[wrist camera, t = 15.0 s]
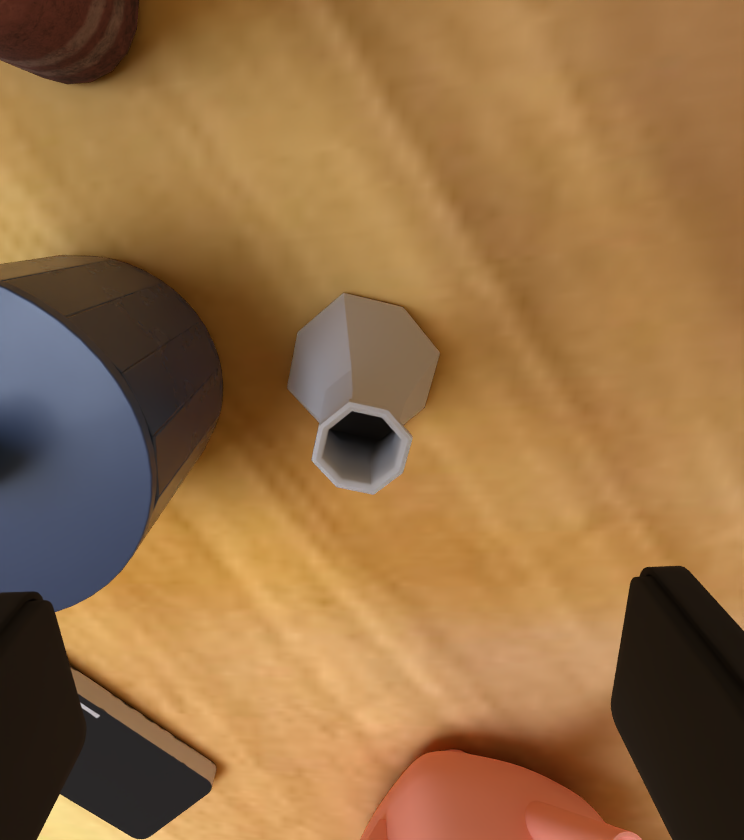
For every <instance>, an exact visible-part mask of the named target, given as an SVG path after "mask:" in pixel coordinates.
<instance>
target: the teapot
mask: <svg viewBox="0 0 744 840" xmlns="http://www.w3.org/2000/svg"><path fill="white" fill-rule="evenodd" d="M360 840H642V839H641V838H640V837H639V836H638V835H636V834H635V833H633V832H630V831H627V830H624V829H621V828H618V827H615V826H612V825H609V824H606V823H605V822H604V820H603V819H602V818H601V817H600V816H599V815H598V813H597V812H596V811H595V810H594V809H593V808H592V807H591V806H590V805H589V804H588V803H587V802H586V801H585V800H583V799H582V798H581V797H580V796H578V795H577V794H575V793H574V792H572V791H571V790H569V789H567V788H566V787H564V786H562V785H560V784H558V783H557V782H555V781H553V780H551V779H549V778H547V777H545V776H543V775H541V774H538V773H536V772H534V771H531V770H529V769H526V768H524V767H521V766H518V765H515V764H511V763H508V762H504V761H500V760H496V759H491V758H487V757H482V756H477V755H472V754H467V753H465V752H463V751H460V750H455V749H451V750H445V751H435V752H429V753H427V754H424V755H422V756H420V757H419V758H418V759H416V760H415V761H414V762H413V763H412V764H411V765H410V766H409V767H408V768H407V769H406V770H405V771H404V773H403V774H402V775H401V776H400V778H399V779H398V780H397V781H396V783H395V784H394V785H393V787H392V788H391V789H390V791H389V792H388V793H387V795H386V796H385V797H384V799H383V800H382V802H381V803H380V805H379V807H378V808H377V810H376V811H375V813H374V815H373V816H372V818H371V820H370V821H369V823H368V825H367V827H366V829H365V831H364V833H363V835H362V837H361V839H360Z"/></svg>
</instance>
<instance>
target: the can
mask: <svg viewBox="0 0 744 840" xmlns="http://www.w3.org/2000/svg"><path fill="white" fill-rule="evenodd" d="M138 6H139V0H0V60H1V61H4V62H6V63H9V64H11V65H13V66H16V67H18V68H21V69H23V70H25V71H28V72H30V73H33V74H35V75H38V76H40V77H42V78H46V79H50V80H53V81H57V82H61V83H65V84H74V83H85V82H92V81H94V80H96V79H98V78H100V77H102V76H103V75H105V74H107V73H109V72H111V71H112V70H113V69H114V68H115V67H116V66H117V64H118V63H119V62H120V61H121V60H122V59H123V58H124V56H125V55H126V54H127V53H128V50H129V47H130V45H131V42H132V40H133V37H134V35H135V32H136V30H137V19H138Z"/></svg>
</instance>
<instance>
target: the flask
mask: <svg viewBox="0 0 744 840" xmlns="http://www.w3.org/2000/svg"><path fill="white" fill-rule="evenodd" d="M439 355H440V352H439V351H438V350H437V348H436V347H435V346H434V345H433V343H432V342H431V341H430V340H429V338H428V337H427V336H426V335H425V333H424V332H423V331H422V330H421V329H420V327H419V326H418V325H417V324H416V322H415V321H414V320H413V319H412V317H411V316H410V315H409V314H408V312H407V311H406V310H405V309H404V307H401V306H397V305H393V304H389V303H384V302H380V301H376V300H372V299H368V298H363V297H359V296H355V295H351V294H347V293H343V294H341V295H340V296H339V297H338V298H337V299H336V300H334V301H333V302H332V303H331V304H330V305H329V306H327V307H326V308H325V309H324V310H323V311H322V312H320V313H319V314H318V315H317V316H316V317H315V318H313V319H312V320H311V321H310V322H309V323H308V324H306V325H305V326H304V327H303V328H302V329H301V330H299V331H298V333H297V338H296V344H295V349H294V354H293V359H292V364H291V369H290V375H289V380H288V385H287V389H288V390H289V391H290V392H291V393H292V394H293V395H294V396H295V397H296V399H297V400H298V401H299V402H300V403H301V404H302V405H303V406H304V407H305V408H306V409H307V410H308V411H309V413H310V414H311V415H312V416H313V417H314V418H315V419H316V420H317V421H318V422H319V427H318V432H317V436H316V441H315V445H314V450H313V455H312V462H313V463H314V464H315V465H316V466H317V467H318V468H319V469H320V470H321V471H322V472H323V473H324V474H325V475H326V476H327V477H328V478H329V480H330V481H331V482H332V483H333V484H334V485H335V486H336V487H339V488H344V489H348V490H353V491H358V492H363V493H368V494H373V495H374V494H375V493H376V492H378V491H379V490H380V489H382V488H383V487H384V486H386V485H387V484H388V483H390V482H391V481H392V480H394V479H395V478H396V477H398V476H399V475H401V474H402V473H403V470H404V467H405V463H406V460H407V456H408V453H409V449H410V445H411V442H412V435H411V434H410V433H409V431H408V430H407V429H406V428H405V427H404V426H403V425H404V424H405V423H406V422H407V421H408V420H410V419H411V418H412V417H414V416H415V415H416V414H417V413H419V412H420V411H421V410H422V409H423V408H425V404H426V401H427V397H428V394H429V390H430V387H431V383H432V380H433V376H434V373H435V369H436V366H437V362H438V359H439Z"/></svg>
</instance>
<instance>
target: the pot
mask: <svg viewBox="0 0 744 840" xmlns="http://www.w3.org/2000/svg"><path fill="white" fill-rule="evenodd" d="M0 281H3V282H5V283H8V284H10V285H13V286H15V287H17V288H19V289H21V290H23V291H25V292H26V293H28V294H30V295H32V296H34V297H36V298H38V299H40V300H41V301H43V302H44V303H46V304H47V305H49V306H50V307H52V308H53V309H55V310H56V311H58V312H59V313H61V314H62V315H64V316H65V317H66V318H68V319H69V320H70V321H71V322H72V323H73V324H75V325H76V326H77V327H78V328H79V329H81V330H82V331H83V332H84V333H85V334H86V335H88V336H89V337H90V339H91V340H92V341H93V342H94V343H95V344H96V345H97V346H98V347H99V348H100V349H101V350H102V351H103V352H104V353H105V354H106V355H107V357H108V358H109V359H110V361H111V362H112V363H113V365H114V366H115V367H116V369H117V370H118V371H119V373H120V374H121V375H122V377H123V378H124V379H125V381H126V383H127V385H128V386H129V388H130V390H131V392H132V393H133V395H134V397H135V398H136V400H137V402H138V404H139V407H140V409H141V411H142V414H143V416H144V419H145V421H146V423H147V426H148V430H149V433H150V437H151V441H152V444H153V448H154V456H155V463H156V497H155V503H154V509H153V514H152V517H151V520H150V523H149V526H148V529H147V532H146V534H145V535H144V537H143V539H142V541H143V540H144V538H145V537H146V535H147V534H148V532H149V531H150V529H151V528H152V526H153V525H154V523H155V522H156V520H157V519H158V517H159V516H160V514H161V513H162V512H163V510H164V509H165V507H166V506H167V504H168V503H169V501H170V500H171V498H172V497H173V495H174V494H175V492H176V491H177V489H178V488H179V486H180V485H181V483H182V482H183V480H184V479H185V478H186V476H187V475H188V473H189V472H190V470H191V469H192V467H193V466H194V464H195V463H196V461H197V460H198V458H199V457H200V455H201V454H202V452H203V451H204V449H205V447H206V445H207V443H208V440H209V438H210V436H211V434H212V433H213V431H214V429H215V426H216V424H217V421H218V418H219V415H220V411H221V405H222V398H223V380H222V370H221V366H220V361H219V357H218V354H217V351H216V348H215V346H214V343H213V341H212V339H211V337H210V335H209V333H208V331H207V329H206V327H205V326H204V324H203V323H202V321H201V320H200V318H199V317H198V315H197V314H196V312H195V311H194V310H193V309H192V308H191V307H190V305H189V304H188V303H187V302H186V301H185V300H184V299H183V298H182V297H181V296H180V295H179V294H178V293H177V292H175V291H174V290H173V289H172V288H171V287H169V286H168V285H167V284H165V283H164V282H162V281H161V280H160V279H158V278H157V277H155V276H153V275H151V274H149V273H148V272H146V271H144V270H142V269H140V268H137V267H135V266H132V265H130V264H127V263H124V262H121V261H117V260H113V259H110V258H103V257H96V256H68V255H60V256H53V257H46V258H39V259H32V260H25V261H18V262H11V263H4V264H0ZM142 541H141V543H142ZM141 543H140V544H141Z"/></svg>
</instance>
